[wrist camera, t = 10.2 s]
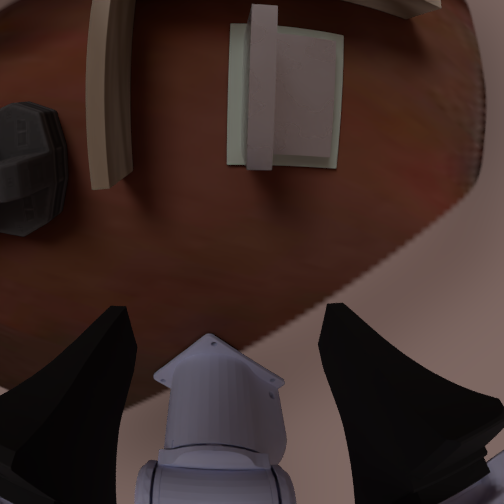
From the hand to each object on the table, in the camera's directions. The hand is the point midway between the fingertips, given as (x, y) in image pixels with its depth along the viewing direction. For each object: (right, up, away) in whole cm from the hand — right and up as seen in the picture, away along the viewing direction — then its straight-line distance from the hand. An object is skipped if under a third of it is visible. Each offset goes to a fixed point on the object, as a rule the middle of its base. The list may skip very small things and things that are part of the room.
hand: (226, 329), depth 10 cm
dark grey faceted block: (-23, +9, +4) cm, 25 cm away
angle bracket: (+3, +12, +5) cm, 13 cm away
